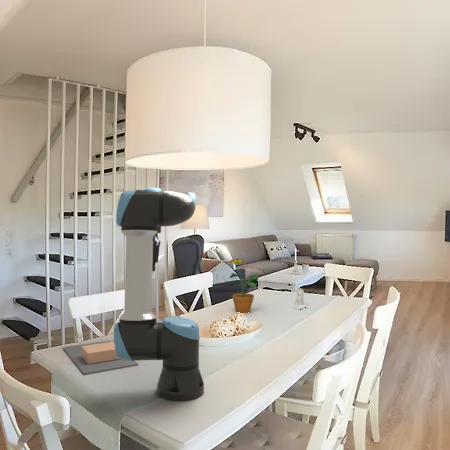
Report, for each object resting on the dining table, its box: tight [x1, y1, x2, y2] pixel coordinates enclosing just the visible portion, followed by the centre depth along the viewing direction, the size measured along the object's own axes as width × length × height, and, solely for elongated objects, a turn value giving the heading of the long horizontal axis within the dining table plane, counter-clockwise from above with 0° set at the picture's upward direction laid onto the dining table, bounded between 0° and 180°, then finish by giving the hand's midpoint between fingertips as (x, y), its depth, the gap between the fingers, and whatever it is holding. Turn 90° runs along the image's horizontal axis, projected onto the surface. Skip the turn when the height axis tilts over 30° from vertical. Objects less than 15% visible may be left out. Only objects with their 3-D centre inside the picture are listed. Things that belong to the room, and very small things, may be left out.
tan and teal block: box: [81, 341, 119, 364], centre depth 177 cm, size 4×13×10 cm
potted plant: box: [229, 258, 260, 314], centre depth 259 cm, size 18×19×30 cm
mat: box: [62, 340, 139, 376], centre depth 181 cm, size 34×20×1 cm, turn 31°
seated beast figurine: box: [293, 288, 305, 306], centre depth 273 cm, size 10×9×12 cm
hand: (151, 278), depth 199 cm, fingers closed
